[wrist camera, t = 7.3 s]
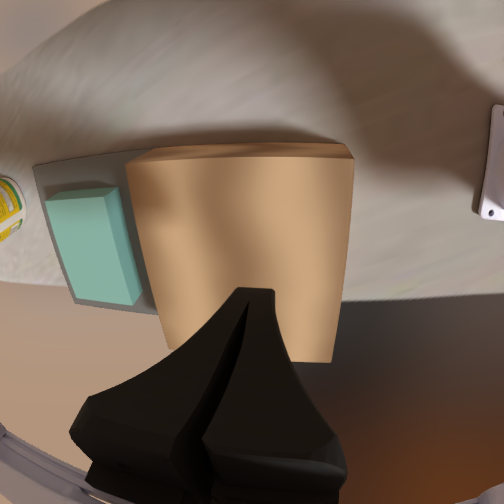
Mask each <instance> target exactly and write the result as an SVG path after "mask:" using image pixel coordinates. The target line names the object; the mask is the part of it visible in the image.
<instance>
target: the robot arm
mask: <svg viewBox="0 0 504 504" xmlns="http://www.w3.org/2000/svg"><path fill="white" fill-rule="evenodd" d="M503 111H504V106H502V105H498V104H496V105H494V106H493V108H492V117H491V130H490V140H489V149H488V157H487V165H486V171H485V178H484V184H483V189H482V195H481V200H480V205H479V210H478V213H479V216H480V217H481V218H483V219H489V220H499V221H504V116H503ZM490 210H492V211H491V213H490V214H488V213H489V211H490ZM69 434H70V436H71V439H72V440H73V441H74V443H76V445H77V446H78V447H79V448H80V449H81V450H82V451H83V452H84V453H85V454H86V455H87V456H88V457H89V458H90V459H91V460H92V461H93V462H92V464H91V467H90V469H89V471H88V472H86V471H83V470H81V469H79V468H76V467H74V466H72V465H70V464H68V463H66V462H64V461H61V460H59V459H57V458H55V457H53V456H51V455H49V454H48V453H46V452H44V451H42V450H40V449H38V448H36V447H35V446H33V445H31V444H29V443H27V442H26V441H24V440H22V439H20V438H19V437H17V436H16V435H14V434H12V433H11V432H9V431H7V430H6V428H5V427H4V426H3V425H2V424H1V423H0V494H2V495H3V496H4V497H5V498H7V499H8V500H9V501H10V502H12V503H13V504H105V503H103V502H101V501H99V500H97V499H95V498H93V497H91V496H89V494H90V495H92V496H94V497H96V498H99V499H101V500H104V501H106V502H109V503H111V504H338V502H339V490H340V489H341V487H342V486H343V484H344V483H345V481H346V479H347V465H346V460H345V456H344V453H343V450H342V447H341V444H340V441H339V438H338V436H337V434H336V433H335V431H334V430H333V429H332V428H331V426H330V425H329V424H328V422H327V421H326V420H325V418H324V417H323V416H322V414H321V413H320V411H319V410H318V409H317V407H316V406H315V404H314V403H313V401H312V399H311V398H310V396H309V394H308V393H307V391H306V389H305V388H304V386H303V384H302V382H301V381H300V379H299V377H298V375H297V373H296V371H295V369H294V366H293V364H292V362H291V360H290V357H289V355H288V352H287V350H286V347H285V344H284V341H283V339H282V335H281V332H280V328H279V324H278V321H277V316H276V310H275V291H274V290H273V289H271V288H251V287H237V288H236V289H235V290H234V291H233V292H232V293H231V295H230V296H229V297H228V298H227V300H226V301H225V302H224V303H223V304H222V305H221V307H220V308H219V309H218V310H217V311H216V312H215V313H214V314H213V315H212V317H211V318H210V319H209V320H208V321H207V322H206V323H205V324H204V325H203V326H202V327H201V328H200V329H199V330H198V331H197V332H196V333H195V334H194V335H193V336H191V337H190V338H189V339H188V340H187V341H186V342H185V343H184V344H182V345H181V346H180V347H179V348H178V349H176V350H175V351H174V352H172V353H171V354H170V355H168V356H167V357H166V358H164V359H163V360H161V361H160V362H158V363H157V364H155V365H154V366H152V367H151V368H149V369H147V370H146V371H144V372H142V373H141V374H139V375H137V376H135V377H133V378H131V379H129V380H127V381H125V382H123V383H121V384H119V385H117V386H115V387H112V388H110V389H107V390H105V391H102V392H100V393H98V394H95V395H92V396H89V397H88V398H87V400H86V401H85V403H84V404H83V406H82V408H81V410H80V411H79V413H78V415H77V417H76V419H75V421H74V423H73V424H72V426H71V428H70V430H69ZM456 504H504V483H503V484H500V485H498V486H495V487H493V488H491V489H489V490H487V491H486V492H484V493H482V494H481V495H480V496H479V497H478V498H475V499H471V500H467V501H464V502H460V503H456Z"/></svg>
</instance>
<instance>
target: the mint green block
mask: <svg viewBox="0 0 504 504" xmlns="http://www.w3.org/2000/svg"><path fill="white" fill-rule="evenodd" d="M45 204H46V208H47V212H48V215H49V219H50V222H51V226H52V229H53V232H54V236H55V239H56V242H57V245H58V248H59V251H60V254H61V257H62V260H63V263H64V266H65V269H66V272H67V274H68V277H69V280H70V282H71V285H72V288H73V290H74V293H75V295H76V298H80V299H87V300H94V301H101V302H109V303H116V304H124V305H132V306H133V305H134V303H135V302H136V300H137V299H138V297H139V296H140V294H141V293H142V292H143V289H142V285H141V282H140V278H139V274H138V271H137V267H136V263H135V259H134V255H133V251H132V247H131V243H130V238H129V234H128V230H127V225H126V221H125V216H124V212H123V207H122V202H121V197H120V192H119V187H109V188H96V189H84V190H73V191H63V192H59V193H57V194H56V195H54V196H52V197H51V198H49V199H48V200H46V201H45Z"/></svg>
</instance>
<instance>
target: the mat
mask: <svg viewBox="0 0 504 504" xmlns="http://www.w3.org/2000/svg"><path fill="white" fill-rule="evenodd" d="M152 149H154V148H152ZM152 149H142V150H133V151H124V152H116V153H108V154H101V155H94V156H87V157H81V158H75V159H69V160H63V161H57V162H52V163H47V164H41V165H36V166H33V172H34V177H35V181H36V185H37V189H38V193H39V197H40V201H41V205H42V209H43V212H44V216H45V220H46V223H47V226H48V230H49V233H50V236H51V239H52V243H53V246H54V249H55V252H56V255H57V258H58V260H59V263H60V266H61V269H62V272H63V274H64V277H65V280H66V282H67V285H68V288H69V290H70V293H71V295H72V298H73V300H74V303H75V304H81V305H87V306H94V307H100V308H107V309H114V310H121V311H129V312H136V313H144V314H152V315H158V311H157V308H156V304H155V300H154V297H153V293H152V289H151V285H150V281H149V277H148V273H147V269H146V265H145V261H144V257H143V253H142V248H141V244H140V239H139V235H138V230H137V225H136V221H135V216H134V211H133V206H132V201H131V195H130V190H129V184H128V178H127V173H126V166H125V164H126V163H128V162H130V161H131V160H133V159H135V158H137V157H139V156H141V155H143V154H145V153H147V152H148V151H150V150H152ZM109 187H119V192H120V197H121V202H122V207H123V212H124V216H125V221H126V225H127V230H128V234H129V238H130V243H131V247H132V251H133V255H134V259H135V263H136V267H137V271H138V274H139V278H140V282H141V285H142V289H143V292H142V293H141V294H140V296H139V297H138V299H137V300H136V302H135V303H134V305H133V306H132V305H124V304H116V303H109V302H101V301H94V300H87V299H80V298H76V295H75V293H74V290H73V288H72V285H71V282H70V280H69V277H68V274H67V272H66V269H65V266H64V263H63V260H62V257H61V254H60V251H59V248H58V245H57V242H56V239H55V236H54V232H53V229H52V226H51V222H50V219H49V215H48V212H47V208H46V204H45V201H46V200H48V199H49V198H51V197H52V196H54V195H56V194H57V193H59V192H63V191H73V190H84V189H96V188H109Z"/></svg>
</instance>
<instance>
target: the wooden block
mask: <svg viewBox="0 0 504 504" xmlns="http://www.w3.org/2000/svg"><path fill="white" fill-rule="evenodd" d="M354 160H355V159H354V158H353V156H352V155H351V153H350V152H349V150H348V148H347V147H346V145H345V144H328V143H283V142H270V143H225V144H204V145H188V146H174V147H162V148H154V149H152V150H150V151H148V152H147V153H145V154H143V155H141V156H139V157H137V158H135V159H133V160H131V161H130V162H128V163H126V164H125V166H126V173H127V178H128V184H129V190H130V195H131V201H132V206H133V211H134V216H135V221H136V225H137V230H138V235H139V239H140V244H141V248H142V253H143V257H144V261H145V265H146V269H147V273H148V277H149V281H150V285H151V289H152V293H153V297H154V300H155V304H156V308H157V311H158V315H159V318H160V322H161V325H162V328H163V332H164V335H165V338H166V342H167V345H168V348H169V349H172V350H176V349H178V348H179V347H180V346H181V345H182V344H184V343H185V342H186V341H187V340H188V339H189V338H190V337H191V336H193V335H194V334H195V333H196V332H197V331H198V330H199V329H200V328H201V327H202V326H203V325H204V324H205V323H206V322H207V321H208V320H209V319H210V318H211V317H212V315H213V314H214V313H215V312H216V311H217V310H218V309H219V308H220V307H221V305H222V304H223V303H224V302H225V301H226V300H227V298H228V297H229V296H230V295H231V293H232V292H233V291H234V290H235V289H236V288H237V287H251V288H271V289H273V290H274V291H275V310H276V316H277V321H278V324H279V328H280V332H281V335H282V339H283V341H284V344H285V347H286V350H287V352H288V355H289V357H290V360H291V361H298V362H326V363H327V362H328V363H331V359H332V354H333V348H334V343H335V336H336V331H337V324H338V318H339V312H340V305H341V298H342V291H343V283H344V276H345V267H346V259H347V250H348V241H349V230H350V219H351V208H352V194H353V179H354Z"/></svg>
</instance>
